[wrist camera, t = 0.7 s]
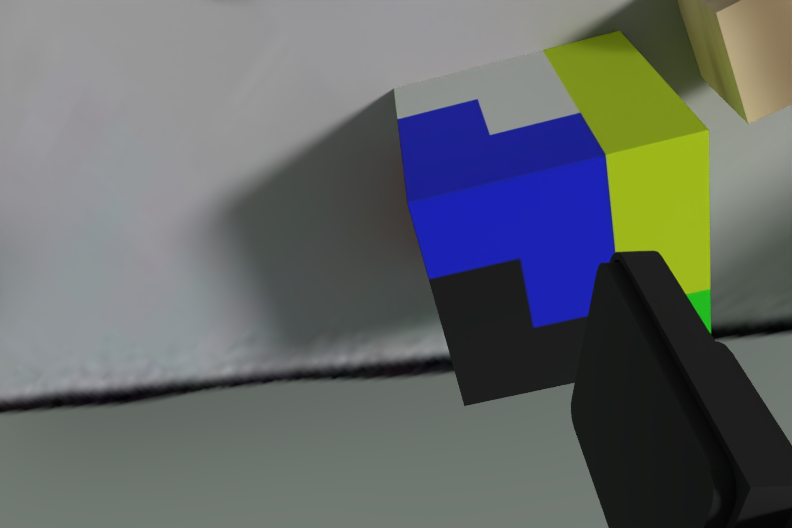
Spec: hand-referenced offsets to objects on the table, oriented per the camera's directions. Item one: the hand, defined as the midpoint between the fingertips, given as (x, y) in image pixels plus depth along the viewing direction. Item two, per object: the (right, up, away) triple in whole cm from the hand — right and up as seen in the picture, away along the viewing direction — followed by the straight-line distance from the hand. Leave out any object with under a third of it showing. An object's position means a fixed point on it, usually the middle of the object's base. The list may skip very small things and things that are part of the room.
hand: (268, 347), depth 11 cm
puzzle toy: (+8, +6, +26) cm, 27 cm away
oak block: (+16, +12, +22) cm, 30 cm away
